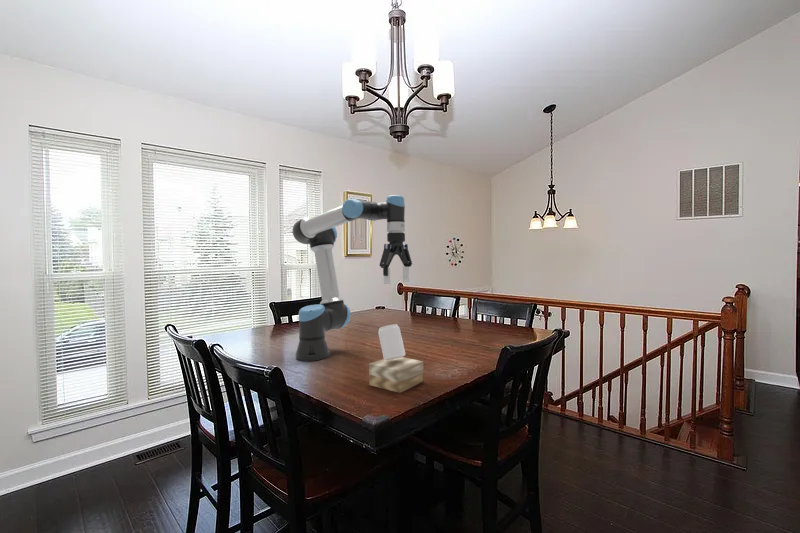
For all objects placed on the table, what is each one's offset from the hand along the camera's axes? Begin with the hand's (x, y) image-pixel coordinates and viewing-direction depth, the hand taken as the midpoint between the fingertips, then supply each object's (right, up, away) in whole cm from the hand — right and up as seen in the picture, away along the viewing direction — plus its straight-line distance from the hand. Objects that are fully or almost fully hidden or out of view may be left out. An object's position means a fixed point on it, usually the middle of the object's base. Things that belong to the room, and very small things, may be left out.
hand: (396, 282), depth 164 cm
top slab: (0, -32, -23) cm, 40 cm away
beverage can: (0, -27, -24) cm, 36 cm away
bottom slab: (0, -36, -23) cm, 43 cm away
